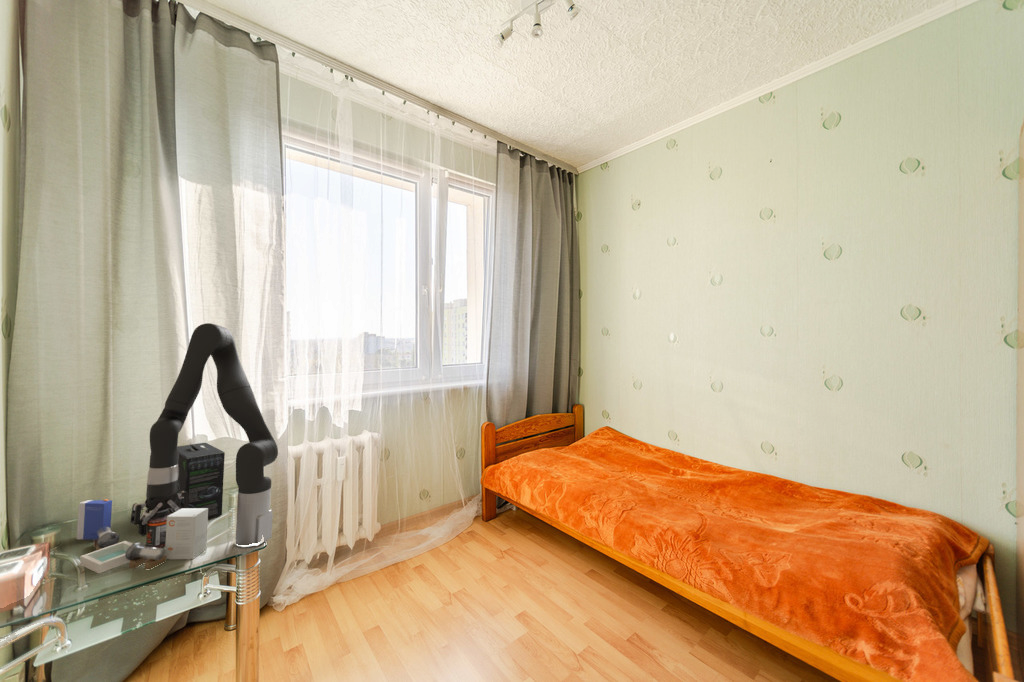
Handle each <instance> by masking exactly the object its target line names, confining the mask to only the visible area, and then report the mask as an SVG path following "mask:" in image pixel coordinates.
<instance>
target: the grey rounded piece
mask: <svg viewBox="0 0 1024 682" xmlns="http://www.w3.org/2000/svg"><path fill="white" fill-rule="evenodd" d="M165 552H166V550H165V548H163V547H161V548H156V547H147V546H146V545H145V544H144V543H143V542H138V541H136V542H134V543H132V545H131V546H130V547H129V548H128V549H127V551H126V554H125V557H126V559H127V560H130V561H129V562H128V568H129V569H136V567H137V568H139V567H140V566H139V565H141V564H143V563H145V564H143V565H144V569H151V568H153V567H155V566H157V565H159V564H161V563H163V562H165V561H166V555H165ZM166 562H167V561H166ZM166 562H165V563H166ZM163 564H164V563H163ZM161 565H162V564H161ZM138 566H139V567H138ZM141 566H142V565H141ZM159 566H160V565H159ZM144 569H143V570H144Z"/></svg>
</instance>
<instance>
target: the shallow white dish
mask: <svg viewBox="0 0 1024 682" xmlns="http://www.w3.org/2000/svg"><path fill="white" fill-rule="evenodd" d="M132 544H133V543H132V542H131V541H127V540H123V541H121V542H120V541H119V542H118V543H117V544H114V545H111V546H108V547H105V548H102V549H99V550H97V551H96V550H94V551H92V552H89V553H86V554H82V555H80V558H79V559H80V560H79V561H80V562H79V563H80V564H79V565H80V566H82V567H84V568H86V569H88V570H91V571H92V572H94V573H97V574H102V573H103V572H106V571H109V570H112V569H114V568H116V567H119V566H122V565H124V564H127V563H129V561H130V560H127V559H126V557H125V554H126V551H127V549H128V548H129V547H130V546H131V545H132Z"/></svg>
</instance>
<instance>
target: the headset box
mask: <svg viewBox="0 0 1024 682" xmlns="http://www.w3.org/2000/svg"><path fill="white" fill-rule="evenodd" d="M177 447H178V449H179V460H178V467H179V476H178V490H177V493H180V492H181V491H182V490H183V491H186V492H188V508H208V520H209V519H214V518H217V517H220V516H223V501H224V499H223V496H224V495H223V494H224V493H223V492H224V474H225V453H226V452H225V451H223V450H222V449H220V448H217V447H216V446H213V445H211V444H210V443H208V442H199V443H193V444H191V443H190V444H186V445H184V444H183V445H177ZM174 503H175V504H176V505H177V506H178V507H180V499H179V498H177V500H176V501H175V502H174ZM172 513H174V511H173V510H171V509H170V508H169V514H172Z"/></svg>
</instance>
